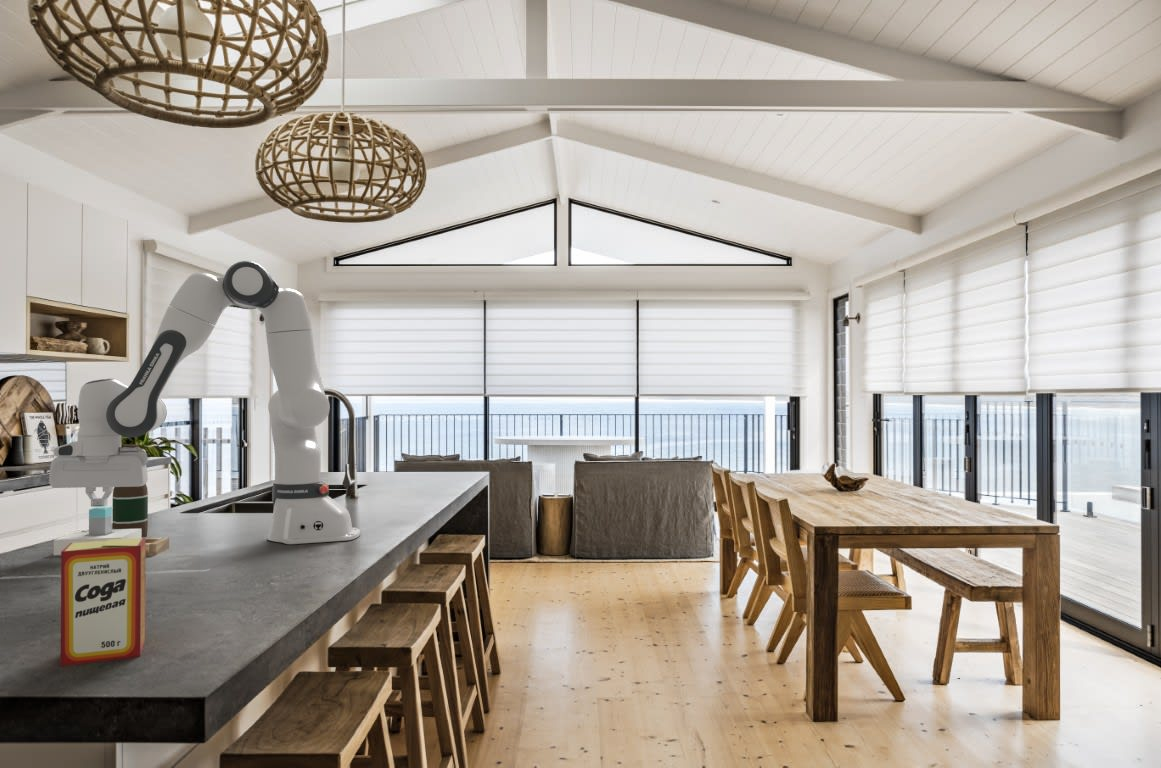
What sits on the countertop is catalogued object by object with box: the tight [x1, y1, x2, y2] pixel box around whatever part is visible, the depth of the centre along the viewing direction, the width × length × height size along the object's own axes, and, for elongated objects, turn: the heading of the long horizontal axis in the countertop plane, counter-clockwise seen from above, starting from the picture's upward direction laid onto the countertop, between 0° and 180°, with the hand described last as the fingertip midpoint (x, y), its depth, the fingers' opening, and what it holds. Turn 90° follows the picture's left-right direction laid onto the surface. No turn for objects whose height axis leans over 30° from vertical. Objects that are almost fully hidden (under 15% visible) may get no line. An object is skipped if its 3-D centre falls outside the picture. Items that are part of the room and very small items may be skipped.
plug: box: [88, 506, 113, 536], centre depth 181 cm, size 4×4×9 cm
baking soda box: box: [59, 537, 147, 667], centre depth 110 cm, size 10×6×16 cm
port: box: [53, 529, 142, 556], centre depth 181 cm, size 14×12×4 cm
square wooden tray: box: [145, 537, 170, 557], centre depth 177 cm, size 8×8×3 cm
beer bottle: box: [112, 443, 149, 538], centre depth 196 cm, size 8×8×24 cm
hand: (99, 506), depth 181 cm, fingers closed
